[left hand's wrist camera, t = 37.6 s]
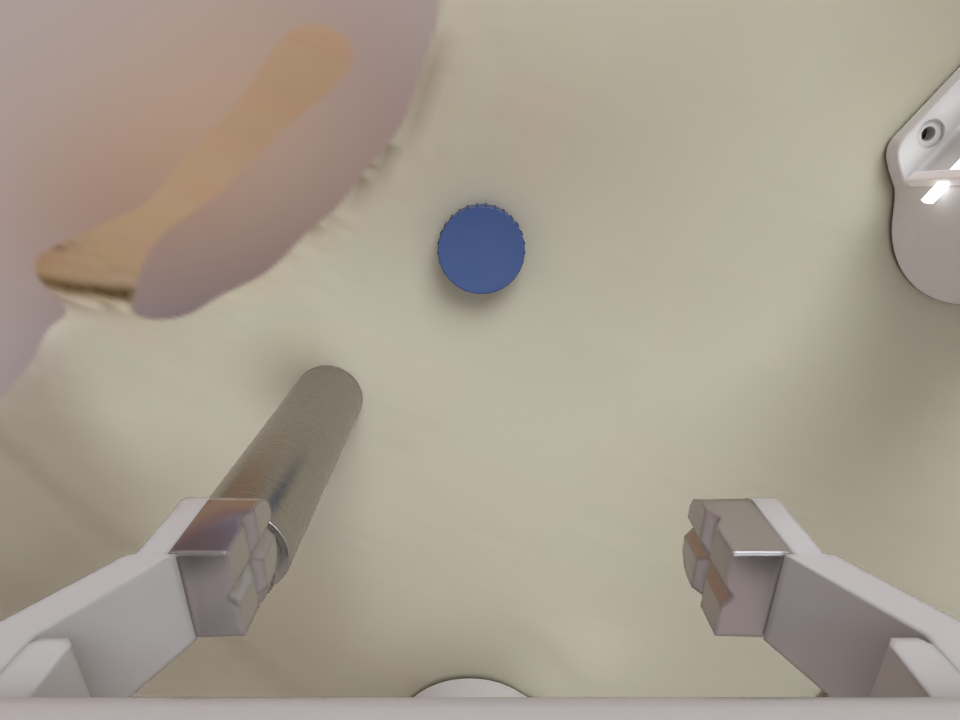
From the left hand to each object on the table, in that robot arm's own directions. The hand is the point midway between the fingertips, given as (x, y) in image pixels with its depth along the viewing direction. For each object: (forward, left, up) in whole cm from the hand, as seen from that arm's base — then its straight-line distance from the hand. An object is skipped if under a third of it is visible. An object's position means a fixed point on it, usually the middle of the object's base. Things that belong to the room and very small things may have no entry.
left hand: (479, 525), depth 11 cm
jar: (+16, -6, -31) cm, 35 cm away
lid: (0, 0, -29) cm, 29 cm away
